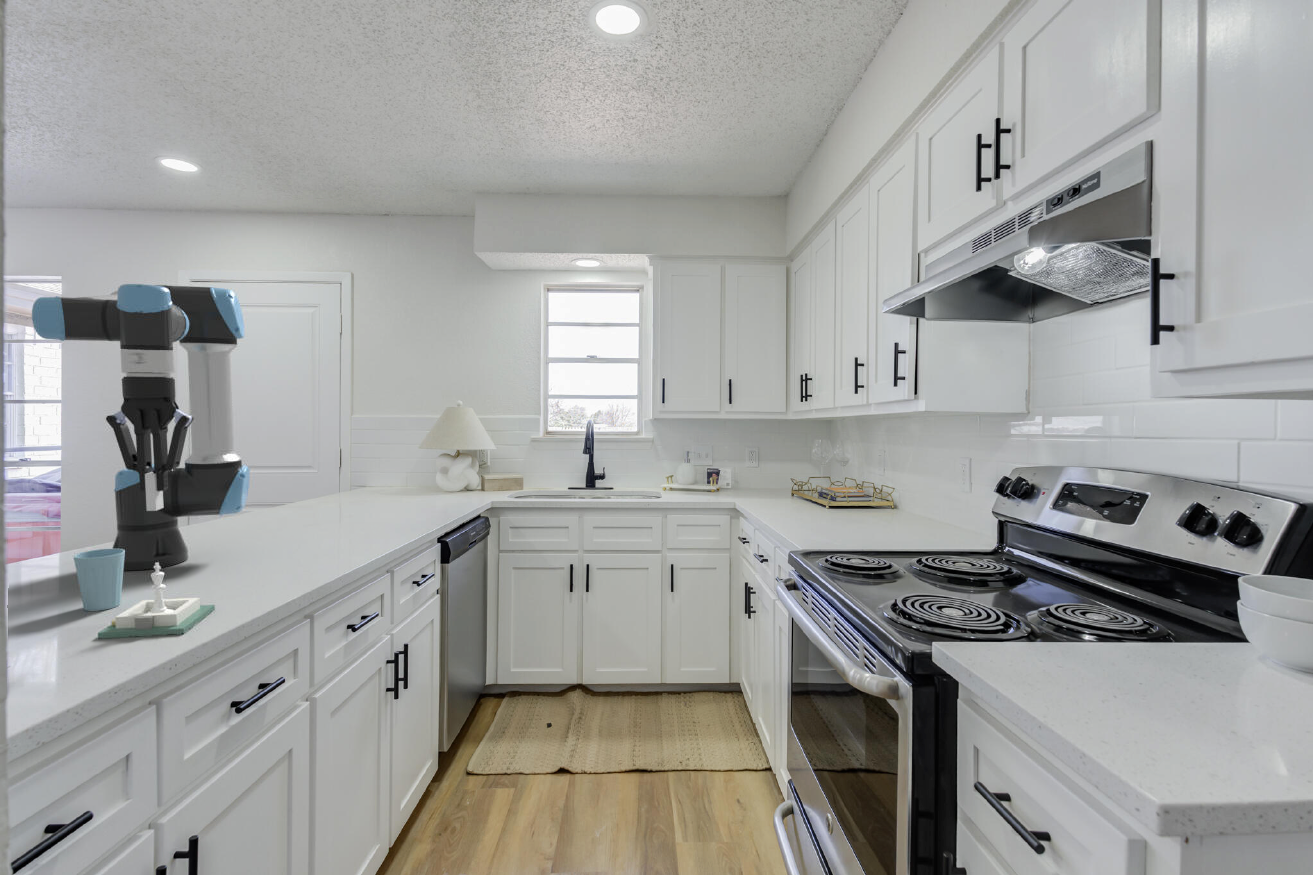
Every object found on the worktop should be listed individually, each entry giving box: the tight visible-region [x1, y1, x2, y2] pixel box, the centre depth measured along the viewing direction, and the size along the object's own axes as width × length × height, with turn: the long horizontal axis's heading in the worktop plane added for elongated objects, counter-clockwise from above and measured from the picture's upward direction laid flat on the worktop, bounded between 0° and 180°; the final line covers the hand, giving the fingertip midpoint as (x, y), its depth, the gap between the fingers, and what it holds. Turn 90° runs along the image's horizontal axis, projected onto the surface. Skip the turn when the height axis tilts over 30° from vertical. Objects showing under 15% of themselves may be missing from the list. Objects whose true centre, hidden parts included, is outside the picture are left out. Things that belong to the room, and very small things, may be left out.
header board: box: [97, 597, 216, 639], centre depth 127 cm, size 13×13×3 cm
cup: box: [73, 548, 125, 612], centre depth 136 cm, size 8×8×10 cm
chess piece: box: [146, 563, 174, 614], centre depth 127 cm, size 5×5×10 cm
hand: (155, 509), depth 126 cm, fingers closed
